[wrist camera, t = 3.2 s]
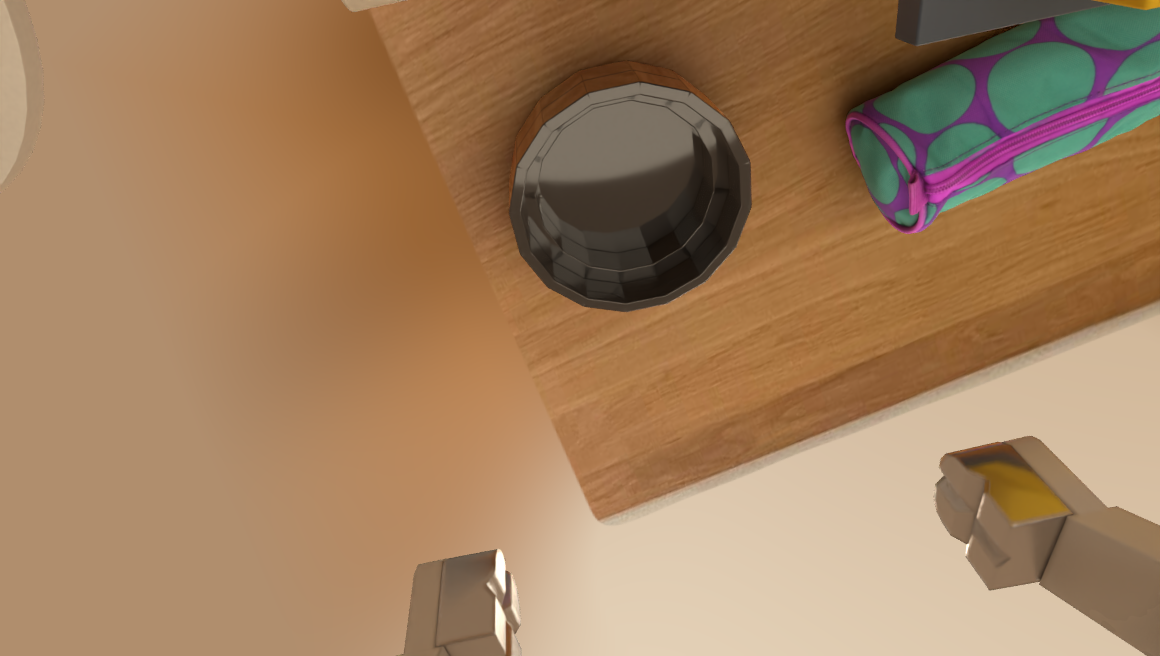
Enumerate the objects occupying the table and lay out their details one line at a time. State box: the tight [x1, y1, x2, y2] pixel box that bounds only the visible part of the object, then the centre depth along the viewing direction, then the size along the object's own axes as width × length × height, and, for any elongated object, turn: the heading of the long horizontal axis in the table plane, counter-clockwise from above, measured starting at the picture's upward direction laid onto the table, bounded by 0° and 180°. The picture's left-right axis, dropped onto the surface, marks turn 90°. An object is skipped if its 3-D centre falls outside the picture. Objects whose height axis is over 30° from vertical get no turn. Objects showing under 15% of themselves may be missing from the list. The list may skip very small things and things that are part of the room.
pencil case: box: [845, 4, 1160, 234], centre depth 37 cm, size 21×9×10 cm, turn 116°
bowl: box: [509, 61, 752, 312], centre depth 40 cm, size 14×14×6 cm
